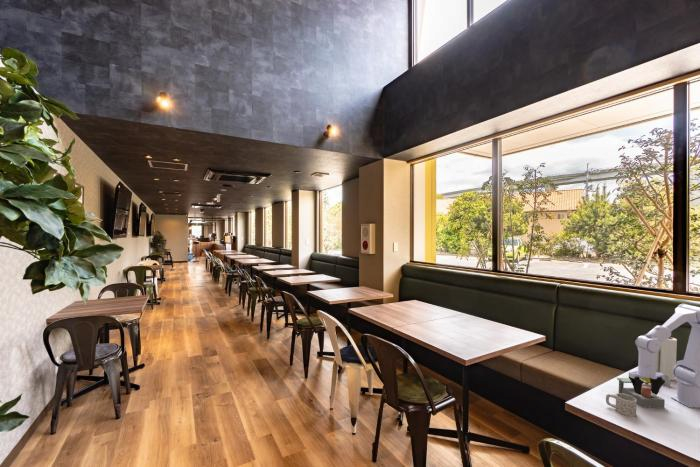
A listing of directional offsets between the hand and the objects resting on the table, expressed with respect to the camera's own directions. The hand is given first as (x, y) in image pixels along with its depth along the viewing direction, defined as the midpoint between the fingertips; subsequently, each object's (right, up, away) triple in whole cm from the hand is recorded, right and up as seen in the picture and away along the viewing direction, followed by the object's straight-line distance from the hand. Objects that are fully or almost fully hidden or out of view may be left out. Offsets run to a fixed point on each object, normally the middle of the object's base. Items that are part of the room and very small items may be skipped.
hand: (645, 393), depth 142 cm
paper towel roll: (+35, -5, +26) cm, 44 cm away
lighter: (+25, -5, +19) cm, 31 cm away
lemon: (+17, -5, +18) cm, 25 cm away
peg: (0, -4, 0) cm, 4 cm away
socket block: (0, -4, +3) cm, 5 cm away
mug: (-17, -4, -7) cm, 19 cm away
